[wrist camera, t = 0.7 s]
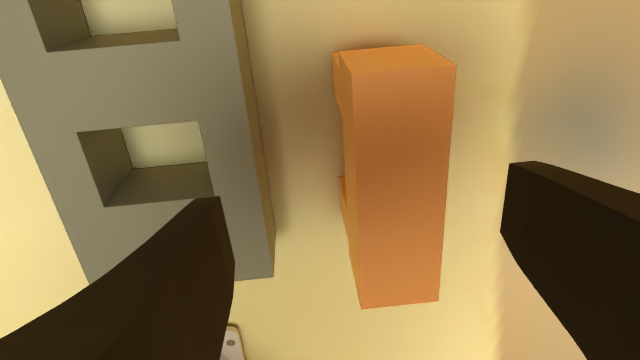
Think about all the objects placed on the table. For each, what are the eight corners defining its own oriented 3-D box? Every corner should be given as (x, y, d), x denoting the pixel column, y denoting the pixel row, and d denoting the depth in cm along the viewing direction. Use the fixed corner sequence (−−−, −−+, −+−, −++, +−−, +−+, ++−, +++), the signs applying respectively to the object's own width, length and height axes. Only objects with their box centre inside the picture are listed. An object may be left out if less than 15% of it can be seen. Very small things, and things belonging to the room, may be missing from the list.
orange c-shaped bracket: (398, 212, 22) (438, 301, 16) (341, 217, 22) (361, 309, 16) (401, 31, 18) (456, 64, 12) (330, 38, 18) (351, 74, 12)
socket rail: (275, 232, 22) (273, 277, 19) (121, 248, 22) (94, 296, 19) (206, -226, 14) (182, -282, 10) (-45, -207, 13) (-145, -259, 10)
